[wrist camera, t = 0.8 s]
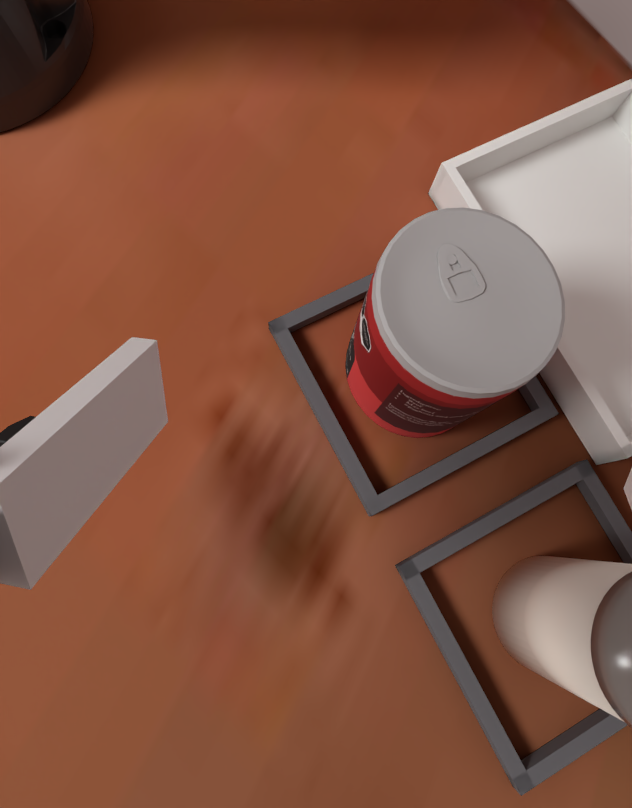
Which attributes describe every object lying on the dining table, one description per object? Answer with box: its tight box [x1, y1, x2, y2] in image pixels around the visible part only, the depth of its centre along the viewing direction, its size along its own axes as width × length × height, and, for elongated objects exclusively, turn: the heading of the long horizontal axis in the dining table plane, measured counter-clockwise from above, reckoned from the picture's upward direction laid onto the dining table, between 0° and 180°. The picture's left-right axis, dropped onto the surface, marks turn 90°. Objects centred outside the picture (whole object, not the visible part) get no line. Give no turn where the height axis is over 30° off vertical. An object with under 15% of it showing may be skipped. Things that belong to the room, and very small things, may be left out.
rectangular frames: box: [268, 273, 632, 796], centre depth 31 cm, size 27×12×1 cm, turn 28°
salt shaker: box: [492, 556, 632, 728], centre depth 25 cm, size 6×6×11 cm
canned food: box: [346, 208, 565, 438], centre depth 27 cm, size 8×8×11 cm
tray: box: [428, 79, 632, 465], centre depth 33 cm, size 19×14×3 cm
